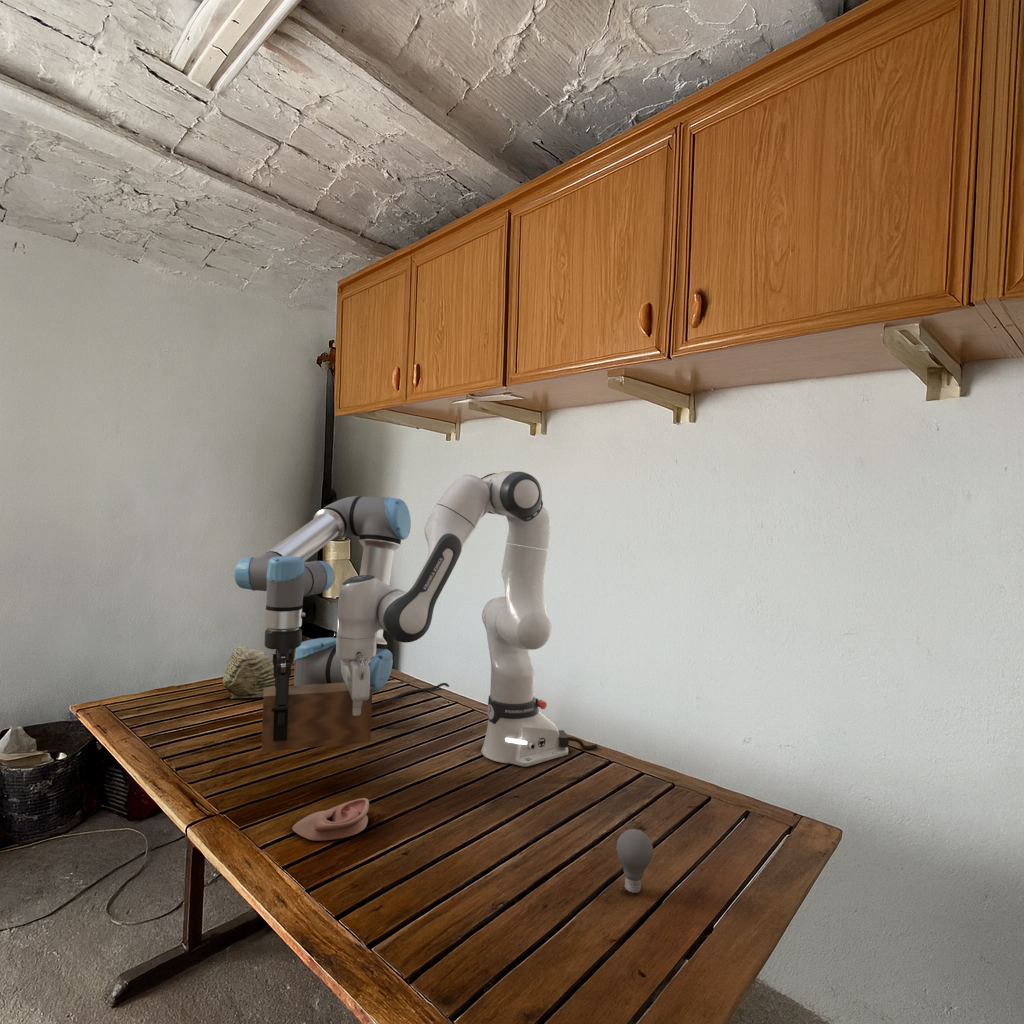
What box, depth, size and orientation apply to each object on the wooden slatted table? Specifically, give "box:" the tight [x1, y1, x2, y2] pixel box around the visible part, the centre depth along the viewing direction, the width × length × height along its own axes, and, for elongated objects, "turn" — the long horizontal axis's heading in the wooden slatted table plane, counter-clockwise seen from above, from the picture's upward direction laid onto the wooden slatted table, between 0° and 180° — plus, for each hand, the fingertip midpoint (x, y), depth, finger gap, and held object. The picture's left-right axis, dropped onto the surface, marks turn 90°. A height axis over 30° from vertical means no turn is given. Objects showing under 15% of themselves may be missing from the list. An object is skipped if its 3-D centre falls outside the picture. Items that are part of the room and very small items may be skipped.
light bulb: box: [615, 828, 654, 894], centre depth 106 cm, size 6×6×10 cm
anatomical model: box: [291, 797, 370, 842], centre depth 122 cm, size 13×4×12 cm
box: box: [261, 683, 373, 753], centre depth 140 cm, size 23×6×12 cm, turn 111°
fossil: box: [222, 646, 275, 699], centre depth 198 cm, size 9×18×15 cm, turn 132°
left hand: (279, 733), depth 137 cm, fingers closed on box, 6 cm apart
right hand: (353, 708), depth 143 cm, fingers closed on box, 6 cm apart
